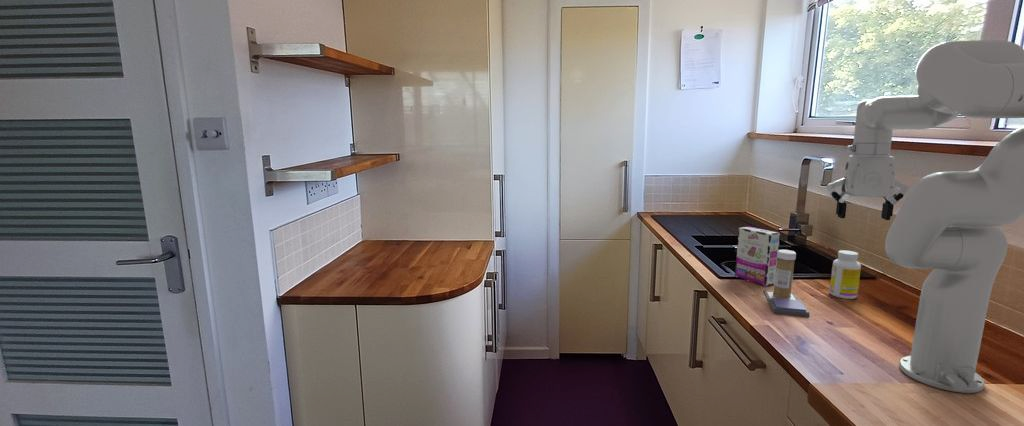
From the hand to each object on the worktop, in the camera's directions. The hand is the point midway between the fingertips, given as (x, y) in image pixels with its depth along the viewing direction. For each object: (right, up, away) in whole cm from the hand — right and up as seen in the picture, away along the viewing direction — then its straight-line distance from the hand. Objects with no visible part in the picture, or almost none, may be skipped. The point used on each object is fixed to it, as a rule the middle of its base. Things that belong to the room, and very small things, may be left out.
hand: (863, 218), depth 121 cm
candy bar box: (-12, -20, +30) cm, 38 cm away
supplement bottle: (+6, -23, +16) cm, 29 cm away
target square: (-12, -23, +15) cm, 30 cm away
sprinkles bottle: (-12, -23, +15) cm, 30 cm away
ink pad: (-15, -24, +7) cm, 29 cm away
